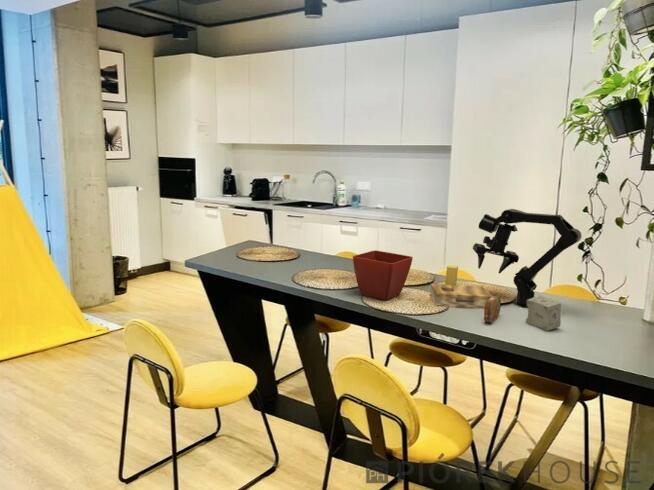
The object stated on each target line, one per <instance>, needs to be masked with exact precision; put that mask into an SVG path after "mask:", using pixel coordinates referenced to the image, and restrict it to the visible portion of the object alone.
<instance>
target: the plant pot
mask: <svg viewBox="0 0 654 490" xmlns="http://www.w3.org/2000/svg"><path fill="white" fill-rule="evenodd" d="M352 263H353V269H354V274H355V280H356V283H357V287H358V290H359V293H360V295H362V296H366V297H370V298H373V299H374V298H375V299H379V300H382V301H388V300H390V299H392V298H395V297H398V296H400V295H401V293H402V291H403V288H404V286H405V284H406V281H407V280H408V279H407V278H408V276H409V273H410V270H411V267H412V263H413V256H411V255H406V254H405V255H404V254H401V253H399V254H398V253H393V252H388V251H381V250H370V251H368V252H363V253H359V254H356V255H352Z"/></svg>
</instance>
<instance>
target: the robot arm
mask: <svg viewBox="0 0 654 490" xmlns="http://www.w3.org/2000/svg"><path fill="white" fill-rule="evenodd" d="M502 223H503V224H502ZM518 223H519V224H520V223H528V224H530V223H531V224H542V225H551V226H552V225H553V227H554V229H556V231H557V233H558V234H559V235H560V237H559V238H558V240H557V241H556V242H555V244H554V245H553V246H552V247H550V248H549V250H548V251H546V252H545V253H543V255H542V256H541V257H539V258H538V259H537V260H536V261H535V262H534V263H533V264H531V265H530V266H529V267H528V266H527V265H525V266H523V267H521V268H520V269H519V271H518V272H515V273H514V275H515V276H513V284H514V285H515V287H516V290H517V293H516V299H515V300H516V301H513V304H515V305H517V306H520V307H522V308H528V306H527V305H526V301H527V300H528V299H531V298H534V297H535V292H534V291H535V290H536V289H537V287H538V285H537V284H536V283H535V281H534V279H535V278H536V277H537V275H538V273H540V272H541V271H542V270H543V269H544V268H545V267H547V265H549V263H551V262H552V261H553V260H554V259H555V258H557V257H558V256H559V255H561V253H562V252H564V251H565V250H567V249H568V248H570V247H571V246H573V245H575V244H577V243H578V242H580V241H581V239H582V232H581V231H580V230H579V229H577V228H575V227H574V226H573V225H572V224H570V223H569V221H567V220H566V219H565V218H564V217H563V215H561V214H551V213H549V214H548V213H534V212H525V211H523V210H518V209H514V208H509V209H505V210H503V211H502V212H501V214H500V216H498V217H494V216H491V215H490V214H486V213H485V214H484V215H483V217H482V218H481V220H480V221H479V223H478V229H480V230H482V231H484V232H487V233H489V234H493V233H495V235H493V236H492V239H491V236H487V235H485V236H484V237H483V241H482V243H483V244H481V243H477V242H475V243H474V244H473V246H472V250H473V251H474V252H475V253H476V255H477V258H478V259H477V261H478V262H477V263H478V264H477V268H478V269H481V267H482V265H483V262H484V260H485V259H486V258H485V257H486V256H485V254H486V253H487V254H491V255H496V256H498V257H502V263H501V265H500V267H499V270H498V274H501V273H502V272H503V271H505V269H506V268H508V267H510V265H512V264H515V263H517V264H518V262H519V259H520V256H519V255H518V254H517V252H514V251H511V250H506V251H505V249H506V247H507V246H509V243H508V242H509V239H510V236H511V234H512V232H513V233H514V232H518V228H517V225H516V224H518ZM511 224H513V225H511ZM484 244H485V245H484Z"/></svg>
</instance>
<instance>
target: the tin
mask: <svg viewBox="0 0 654 490" xmlns="http://www.w3.org/2000/svg"><path fill="white" fill-rule="evenodd" d="M491 296H492V297H491V298H490V299H488V300H487V301H486V303H485V307H484V308H483V310H484V311H483V313H484V315H483V321H484V322H485V323H490V324H493V323H494V322H495V321H496V320H497V319H498V318H499V316H500V312H501V305H502V304H501V300H502V299H501V297H500V296H499V295H498V296H496V295H491Z"/></svg>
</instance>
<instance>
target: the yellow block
mask: <svg viewBox="0 0 654 490" xmlns="http://www.w3.org/2000/svg"><path fill="white" fill-rule="evenodd" d="M458 271H459V266H458V265H451V264H450V265H449V264H448V265H447V266H446V273H445V284H444V285H457V283H458V281H457V279H458Z"/></svg>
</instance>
